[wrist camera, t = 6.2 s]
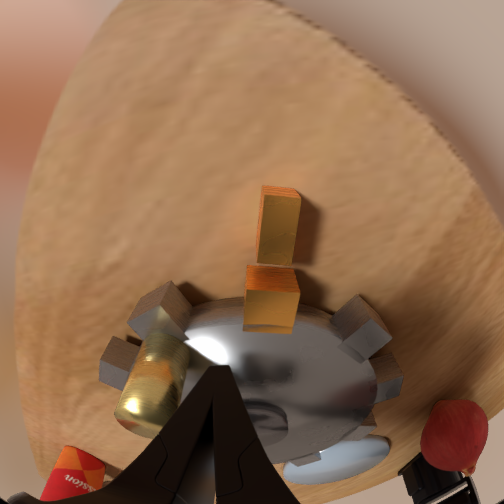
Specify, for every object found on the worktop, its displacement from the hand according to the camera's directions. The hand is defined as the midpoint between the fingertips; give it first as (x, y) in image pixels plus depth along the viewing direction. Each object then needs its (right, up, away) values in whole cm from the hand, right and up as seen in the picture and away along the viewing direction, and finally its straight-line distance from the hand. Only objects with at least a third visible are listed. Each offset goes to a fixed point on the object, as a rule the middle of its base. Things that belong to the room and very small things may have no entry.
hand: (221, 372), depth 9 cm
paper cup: (-19, -20, +13) cm, 30 cm away
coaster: (+9, -15, +11) cm, 21 cm away
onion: (+17, -8, +8) cm, 20 cm away
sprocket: (+1, -3, +6) cm, 7 cm away
